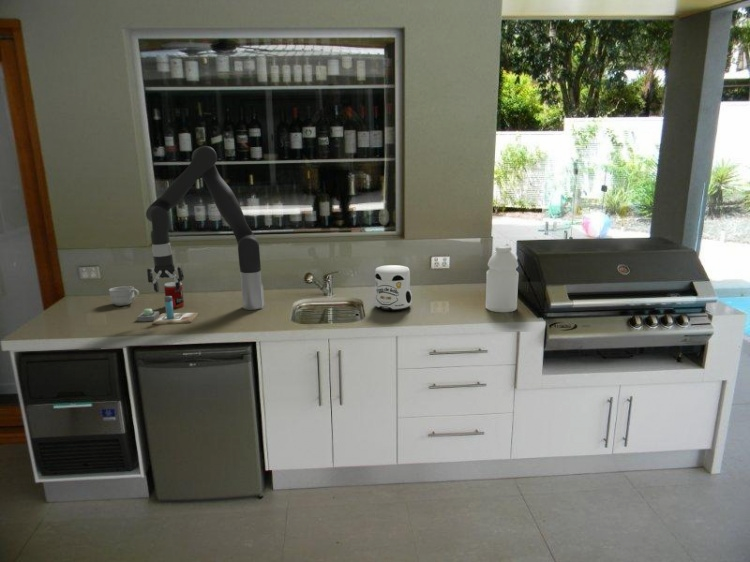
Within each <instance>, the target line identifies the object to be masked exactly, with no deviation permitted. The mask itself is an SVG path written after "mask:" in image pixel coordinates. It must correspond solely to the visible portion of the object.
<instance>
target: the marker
mask: <svg viewBox="0 0 750 562" xmlns="http://www.w3.org/2000/svg"><path fill="white" fill-rule="evenodd" d="M163 298H164V303H165V304H164V305H165V313H166V317H167V319H172V318H174V313H175V312H174V309H173V303H172V296H164V297H163Z"/></svg>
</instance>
